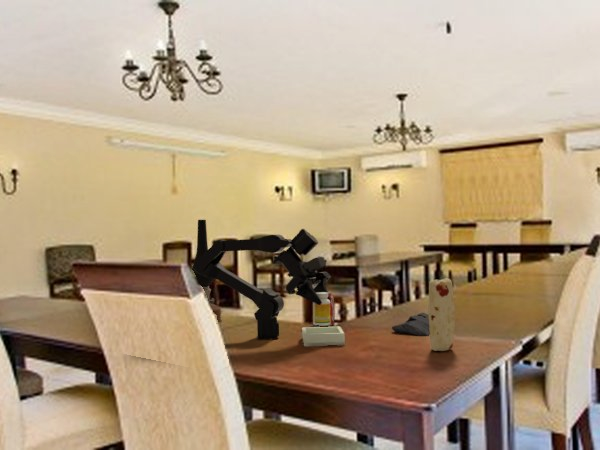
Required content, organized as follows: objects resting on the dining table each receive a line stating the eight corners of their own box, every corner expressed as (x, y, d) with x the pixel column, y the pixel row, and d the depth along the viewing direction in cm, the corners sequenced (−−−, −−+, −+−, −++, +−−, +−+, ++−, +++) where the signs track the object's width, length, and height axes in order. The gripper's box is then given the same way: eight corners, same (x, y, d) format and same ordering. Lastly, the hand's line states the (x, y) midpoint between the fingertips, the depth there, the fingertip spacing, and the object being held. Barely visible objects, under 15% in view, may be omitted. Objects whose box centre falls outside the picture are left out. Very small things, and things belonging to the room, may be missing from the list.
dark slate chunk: (383, 334, 179) (383, 319, 179) (411, 324, 197) (410, 311, 197) (428, 338, 171) (427, 323, 171) (452, 327, 189) (452, 313, 189)
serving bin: (304, 346, 160) (303, 334, 160) (302, 338, 172) (302, 327, 172) (344, 345, 160) (344, 333, 160) (340, 337, 172) (339, 326, 172)
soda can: (332, 327, 191) (331, 293, 191) (312, 327, 193) (312, 293, 193) (335, 324, 198) (334, 290, 198) (316, 323, 199) (315, 290, 200)
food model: (447, 354, 146) (445, 280, 146) (423, 352, 150) (422, 279, 150) (459, 348, 154) (458, 277, 154) (437, 345, 157) (435, 276, 158)
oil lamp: (205, 335, 199) (210, 228, 192) (174, 325, 207) (178, 221, 200) (228, 324, 211) (234, 223, 204) (198, 315, 219) (203, 217, 211)
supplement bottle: (309, 323, 168) (309, 292, 168) (325, 322, 170) (325, 291, 170) (318, 326, 163) (317, 294, 163) (333, 324, 165) (333, 293, 165)
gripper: (293, 248, 161) (326, 288, 155) (325, 246, 177) (356, 282, 171) (272, 274, 165) (303, 313, 159) (304, 270, 181) (334, 306, 175)
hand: (325, 302), depth 166 cm, fingers closed on supplement bottle, 5 cm apart
